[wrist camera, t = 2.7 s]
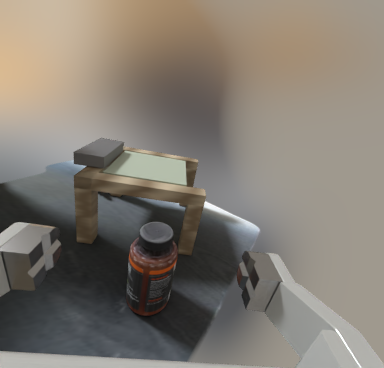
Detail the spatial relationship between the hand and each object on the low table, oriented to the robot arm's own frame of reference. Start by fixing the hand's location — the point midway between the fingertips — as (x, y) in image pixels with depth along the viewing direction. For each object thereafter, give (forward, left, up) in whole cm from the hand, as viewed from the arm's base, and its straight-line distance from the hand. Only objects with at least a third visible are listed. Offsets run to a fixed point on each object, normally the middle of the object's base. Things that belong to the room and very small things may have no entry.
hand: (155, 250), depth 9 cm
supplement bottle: (0, +12, -20) cm, 24 cm away
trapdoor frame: (-4, +31, -20) cm, 37 cm away
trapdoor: (-6, +31, -8) cm, 33 cm away
